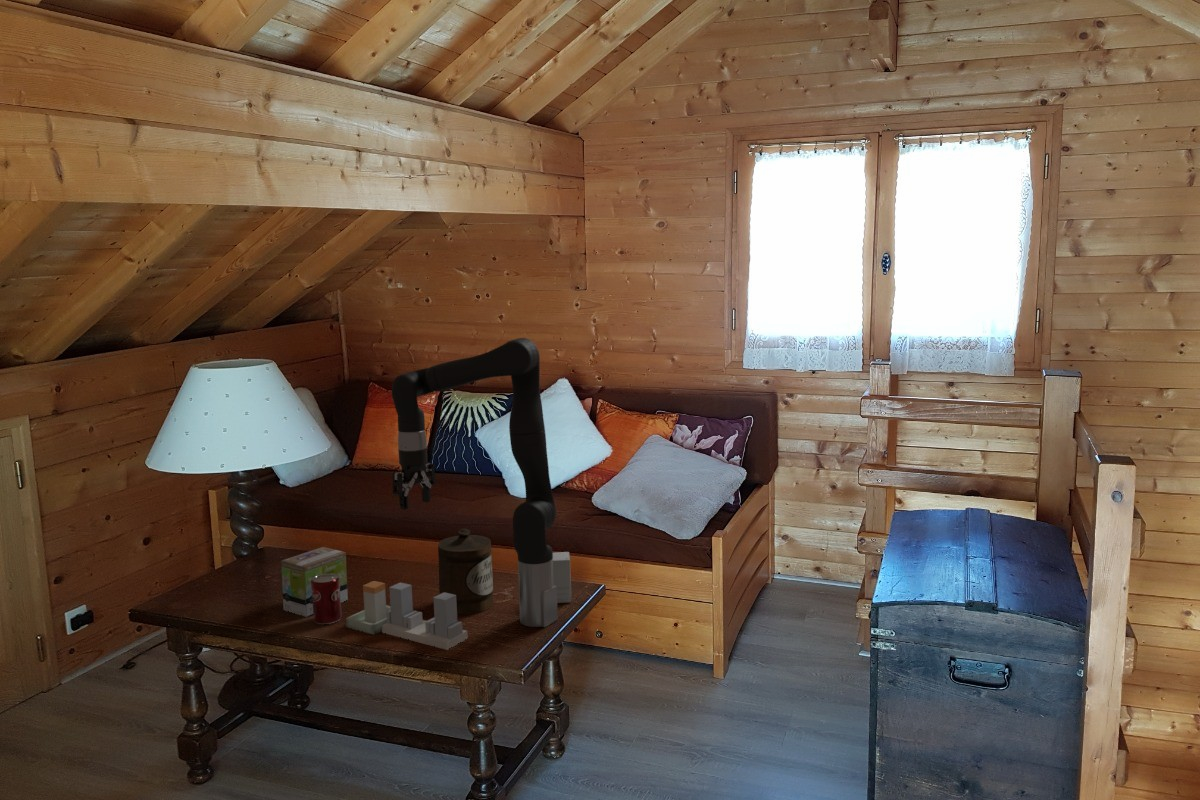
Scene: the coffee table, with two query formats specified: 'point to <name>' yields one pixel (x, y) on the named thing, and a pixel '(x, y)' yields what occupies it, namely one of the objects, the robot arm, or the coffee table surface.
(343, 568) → the tea box
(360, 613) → the tray
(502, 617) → the coffee table surface
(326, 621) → the soda can
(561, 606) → the coffee table surface
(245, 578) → the coffee table surface
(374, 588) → the block
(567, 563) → the supplement box
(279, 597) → the coffee table surface
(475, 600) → the wooden container
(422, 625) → the block
